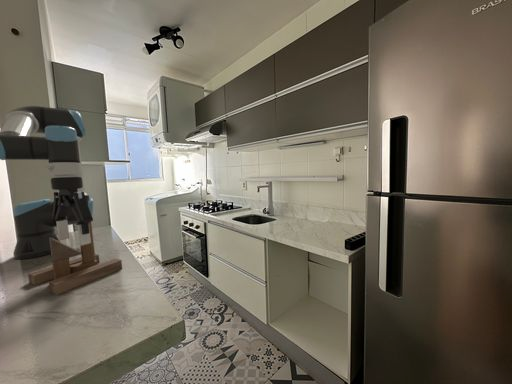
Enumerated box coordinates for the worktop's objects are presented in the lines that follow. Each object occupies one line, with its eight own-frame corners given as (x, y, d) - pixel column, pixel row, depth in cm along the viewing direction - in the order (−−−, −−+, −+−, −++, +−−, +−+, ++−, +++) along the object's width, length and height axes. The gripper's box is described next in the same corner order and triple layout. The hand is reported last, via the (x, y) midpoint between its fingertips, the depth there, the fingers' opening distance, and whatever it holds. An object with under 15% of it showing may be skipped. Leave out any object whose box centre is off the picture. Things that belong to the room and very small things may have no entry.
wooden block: (54, 280, 68) (47, 224, 67) (95, 268, 76) (89, 218, 75) (56, 284, 66) (49, 226, 64) (98, 271, 74) (93, 219, 72)
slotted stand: (29, 282, 67) (28, 273, 67) (93, 260, 83) (92, 253, 83) (56, 295, 59) (55, 284, 59) (122, 268, 75) (121, 259, 75)
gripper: (33, 177, 71) (42, 240, 73) (72, 176, 60) (81, 250, 62) (62, 176, 78) (69, 234, 80) (101, 175, 66) (108, 242, 68)
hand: (74, 241), depth 71 cm, fingers open, 13 cm apart
